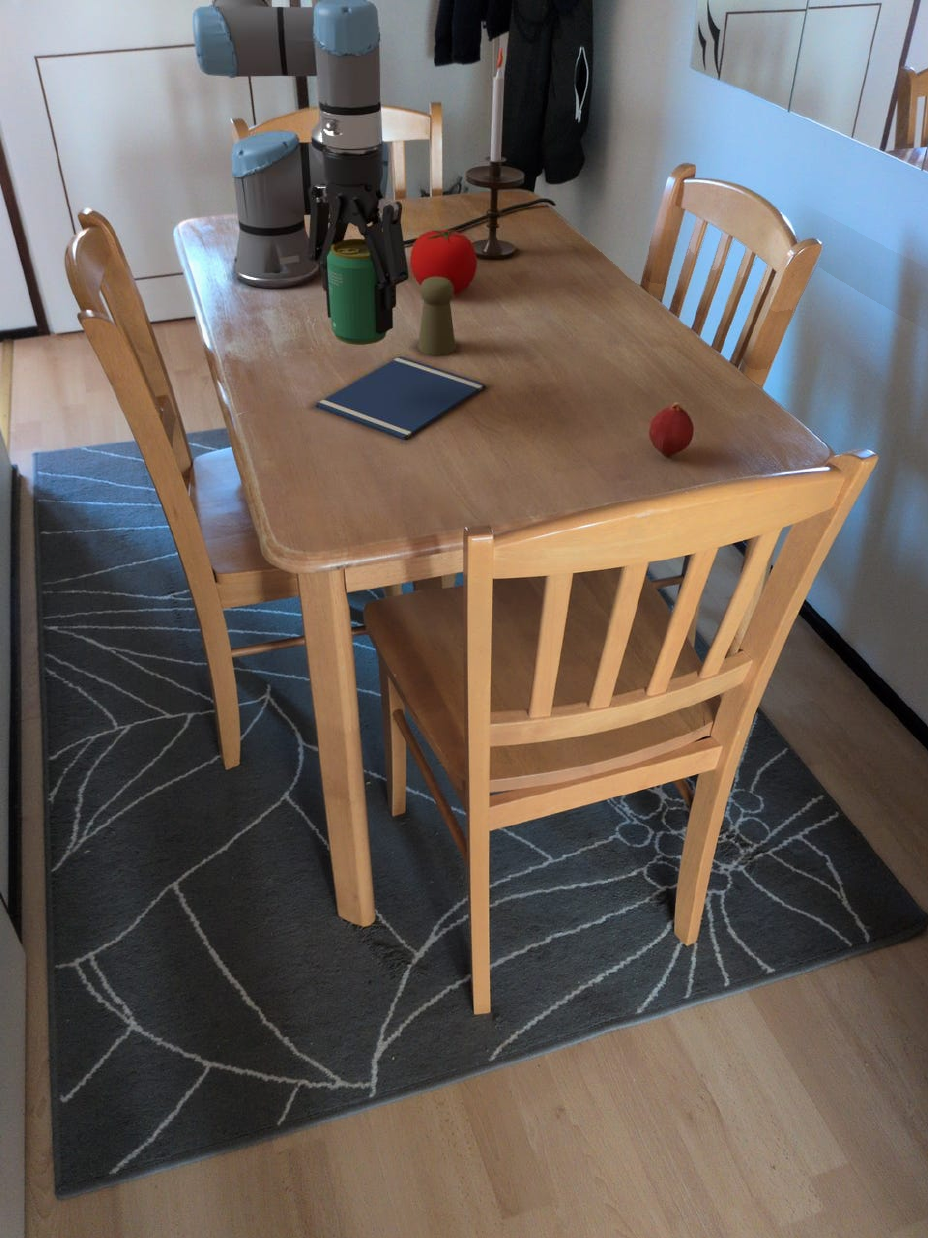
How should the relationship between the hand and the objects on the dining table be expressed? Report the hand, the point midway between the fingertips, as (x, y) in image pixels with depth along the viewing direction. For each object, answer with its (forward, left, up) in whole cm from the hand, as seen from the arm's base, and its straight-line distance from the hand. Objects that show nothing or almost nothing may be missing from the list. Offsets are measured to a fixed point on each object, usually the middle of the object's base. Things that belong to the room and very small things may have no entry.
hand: (360, 322), depth 138 cm
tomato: (-41, -15, -12) cm, 45 cm away
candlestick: (-63, -19, -12) cm, 67 cm away
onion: (-12, +43, -12) cm, 46 cm away
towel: (-4, +4, -12) cm, 13 cm away
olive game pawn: (-21, -2, -12) cm, 24 cm away
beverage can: (0, 0, -2) cm, 2 cm away
